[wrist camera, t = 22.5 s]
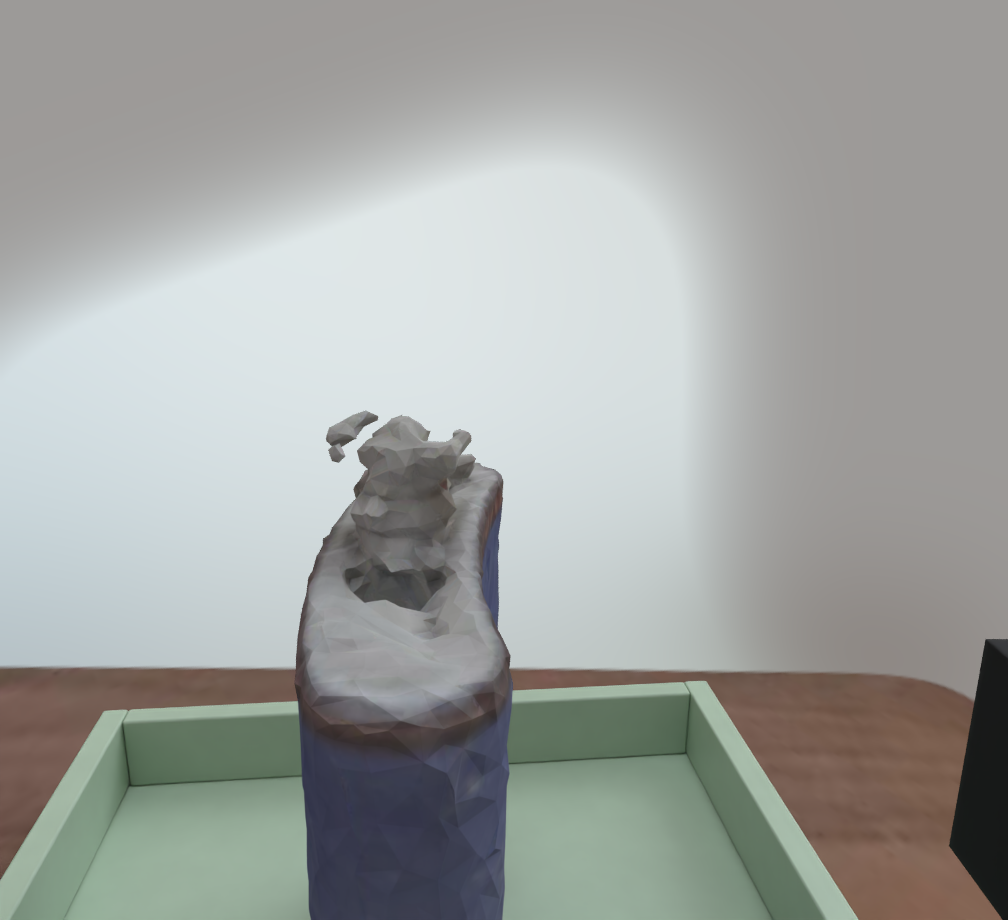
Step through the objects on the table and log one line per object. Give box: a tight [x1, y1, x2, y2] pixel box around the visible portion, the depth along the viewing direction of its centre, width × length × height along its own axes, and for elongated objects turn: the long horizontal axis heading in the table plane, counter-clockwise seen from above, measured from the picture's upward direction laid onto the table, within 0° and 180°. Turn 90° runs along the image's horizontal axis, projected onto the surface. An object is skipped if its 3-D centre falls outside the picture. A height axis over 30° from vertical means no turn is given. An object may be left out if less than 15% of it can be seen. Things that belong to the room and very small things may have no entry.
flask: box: [295, 411, 513, 920], centre depth 14 cm, size 9×3×11 cm, turn 1°
